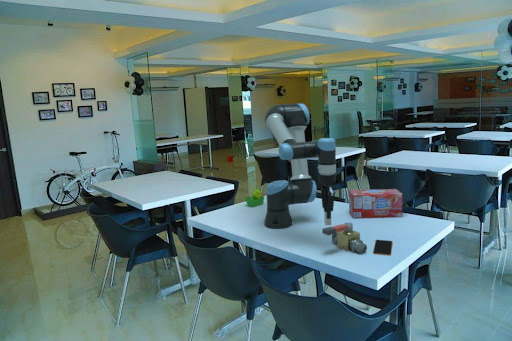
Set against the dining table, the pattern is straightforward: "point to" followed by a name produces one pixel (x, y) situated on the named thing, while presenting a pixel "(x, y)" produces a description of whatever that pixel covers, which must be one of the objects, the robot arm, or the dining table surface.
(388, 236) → the dining table surface
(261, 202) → the fruit basket
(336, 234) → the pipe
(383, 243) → the smartphone
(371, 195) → the box
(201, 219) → the dining table surface
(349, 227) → the lever
